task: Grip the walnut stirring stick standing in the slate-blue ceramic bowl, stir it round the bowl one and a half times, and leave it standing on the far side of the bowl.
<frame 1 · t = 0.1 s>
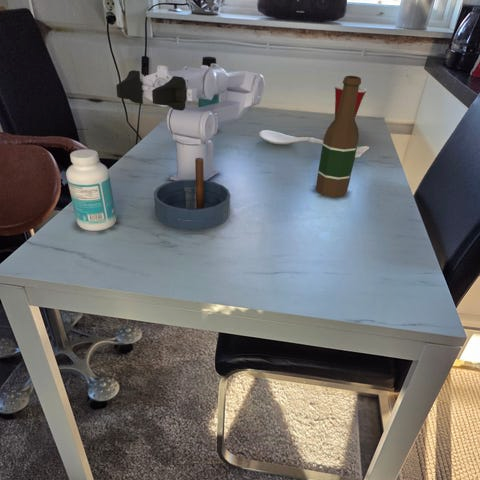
hand: (135, 94, 76), 22 cm above the table, tool horizontal, fingers open, 7 cm apart
pill bottle: (97, 224, 83), on the table
plastic cup: (343, 125, 146), on the table
stirring stick: (200, 206, 90), resting on bowl
beer bottle: (330, 192, 101), on the table
spoon: (308, 150, 124), on the table
beverage bottle: (208, 131, 133), on the table
bowl: (192, 214, 88), on the table
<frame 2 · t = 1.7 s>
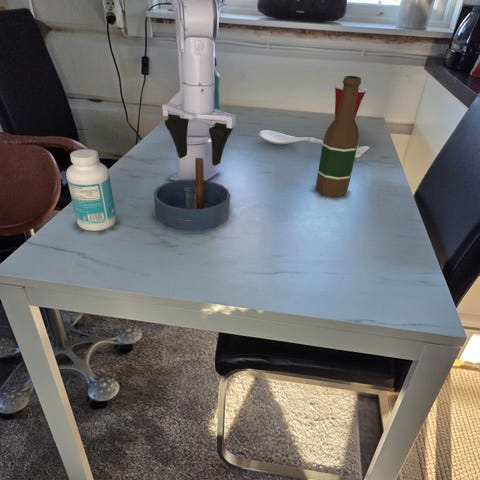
hand: (199, 160, 84), 10 cm above the table, tool pointing down, fingers open, 7 cm apart
nothing on the table moved.
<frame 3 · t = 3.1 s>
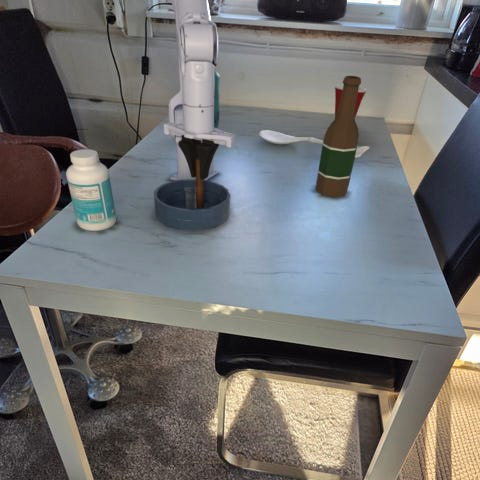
hand: (199, 176, 86), 7 cm above the table, tool pointing down, fingers closed on stirring stick, 1 cm apart
stirring stick: (200, 206, 90), point 1 cm above the table, touching bowl, gripper
everything else where it was.
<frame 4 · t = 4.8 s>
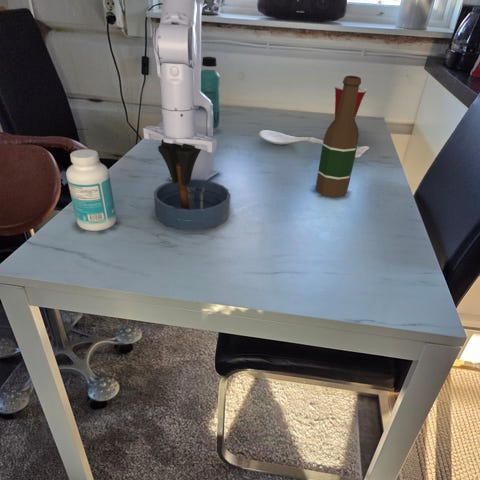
hand: (181, 182, 83), 7 cm above the table, tool pointing down, fingers closed on stirring stick
stirring stick: (185, 210, 88), point 1 cm above the table, tilted 8°, touching gripper
everything else where it was.
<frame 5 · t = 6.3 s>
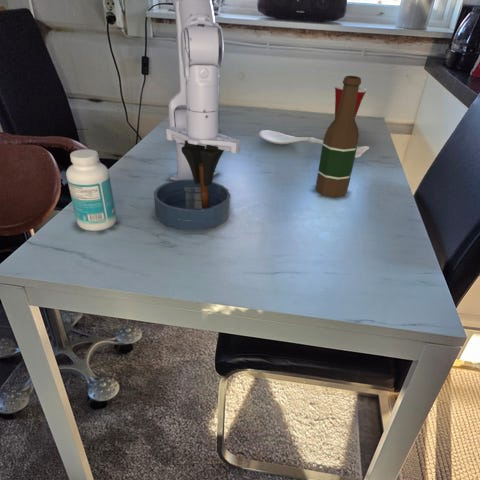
hand: (203, 183, 84), 7 cm above the table, tool pointing down, fingers closed on stirring stick, 1 cm apart
stirring stick: (205, 211, 88), point 1 cm above the table, tilted 6°, touching gripper
everything else where it was.
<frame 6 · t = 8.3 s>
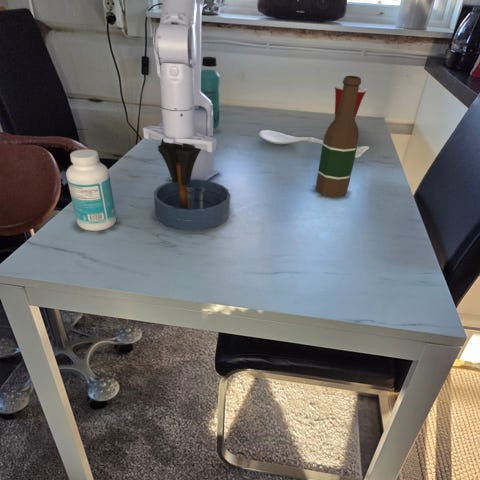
hand: (181, 182, 83), 7 cm above the table, tool pointing down, fingers closed on stirring stick, 2 cm apart
stirring stick: (184, 210, 88), point 1 cm above the table, tilted 6°, touching gripper
everything else where it was.
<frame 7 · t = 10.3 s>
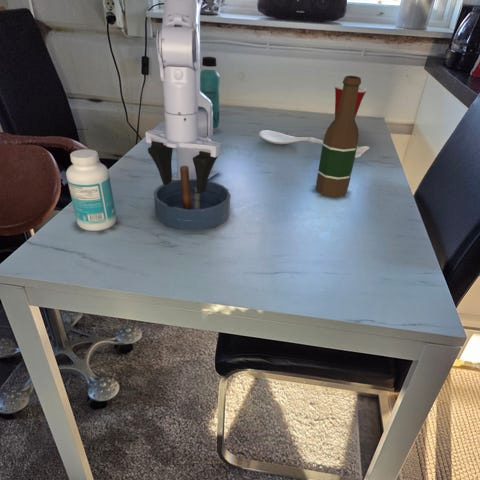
hand: (184, 187, 82), 7 cm above the table, tool pointing down, fingers open, 7 cm apart
stirring stick: (187, 215, 86), point 1 cm above the table, touching bowl
everything else where it was.
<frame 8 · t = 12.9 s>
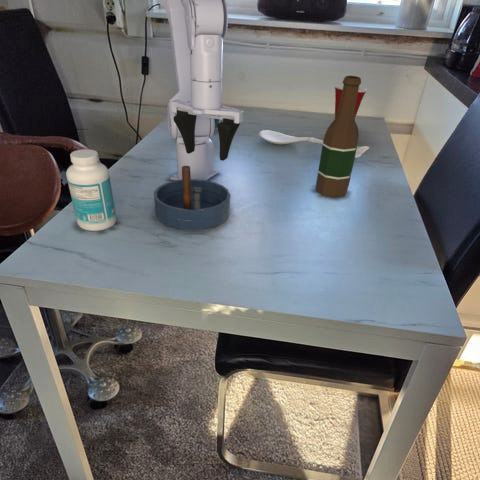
hand: (206, 155, 86), 10 cm above the table, tool pointing down, fingers open, 7 cm apart
nothing on the table moved.
at the end: stirring stick inside the target area in the bowl (2.1 cm from its centre), point 0.5 cm above the bowl's base; stirring stick moved 5.1 cm from its start; the gripper is holding nothing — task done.
